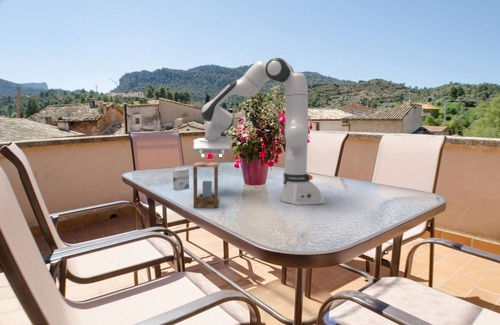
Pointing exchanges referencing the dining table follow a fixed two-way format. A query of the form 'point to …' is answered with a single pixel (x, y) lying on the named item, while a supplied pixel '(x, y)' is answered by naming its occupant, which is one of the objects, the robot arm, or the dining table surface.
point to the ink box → (180, 179)
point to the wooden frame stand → (200, 200)
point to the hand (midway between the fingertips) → (211, 158)
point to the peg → (207, 188)
